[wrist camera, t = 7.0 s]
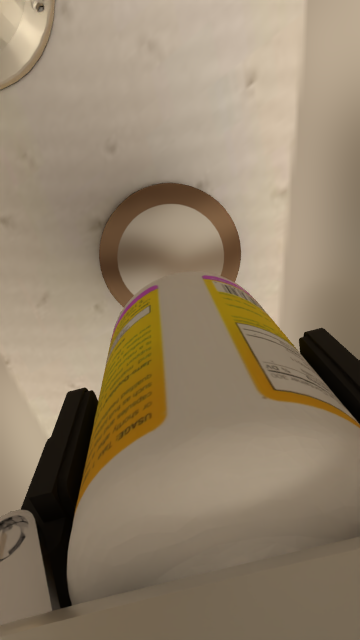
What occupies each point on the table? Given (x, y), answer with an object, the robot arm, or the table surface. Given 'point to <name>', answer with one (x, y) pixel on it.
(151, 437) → the supplement bottle
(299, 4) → the table surface
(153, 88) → the table surface
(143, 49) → the table surface
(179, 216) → the plate
